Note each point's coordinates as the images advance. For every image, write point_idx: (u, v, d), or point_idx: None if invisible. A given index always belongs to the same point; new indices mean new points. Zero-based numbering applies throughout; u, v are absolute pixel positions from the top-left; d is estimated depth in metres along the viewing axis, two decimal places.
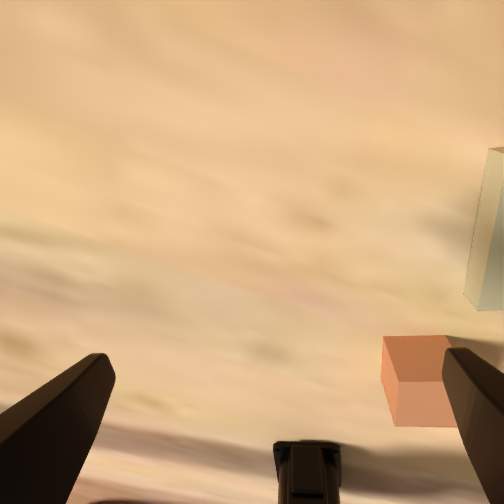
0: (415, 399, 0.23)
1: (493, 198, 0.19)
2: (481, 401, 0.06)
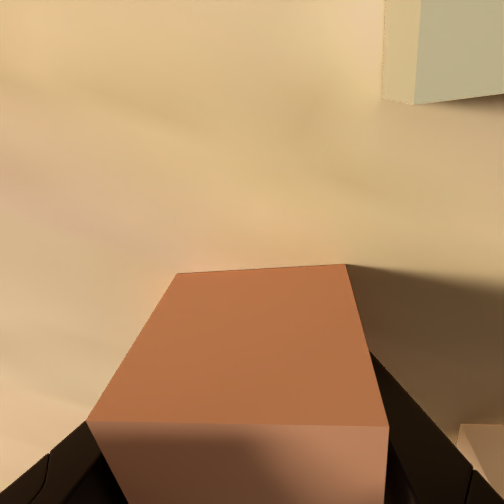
0: (183, 488, 0.06)
1: None
2: None
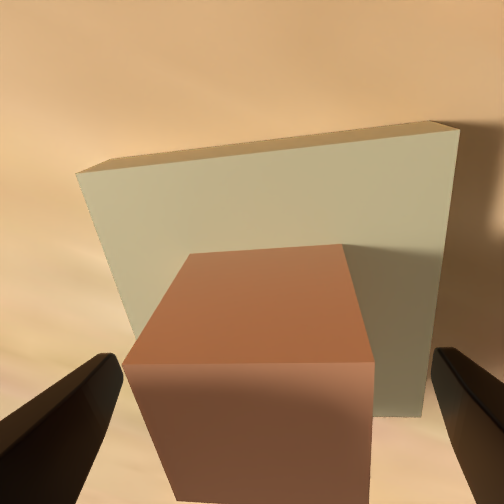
0: (202, 427, 0.07)
1: None
2: (467, 401, 0.06)
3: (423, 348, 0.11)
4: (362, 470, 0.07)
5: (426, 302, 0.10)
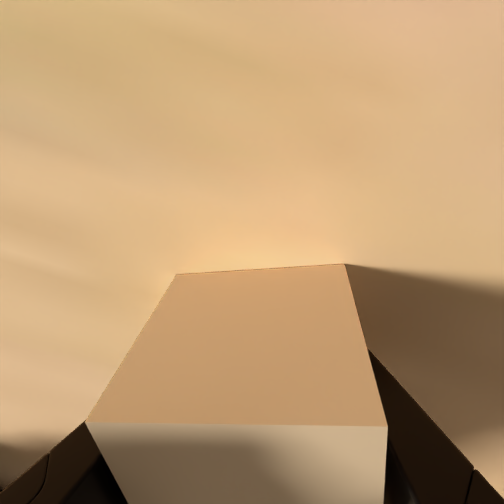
0: None
1: None
2: None
3: None
4: None
5: None
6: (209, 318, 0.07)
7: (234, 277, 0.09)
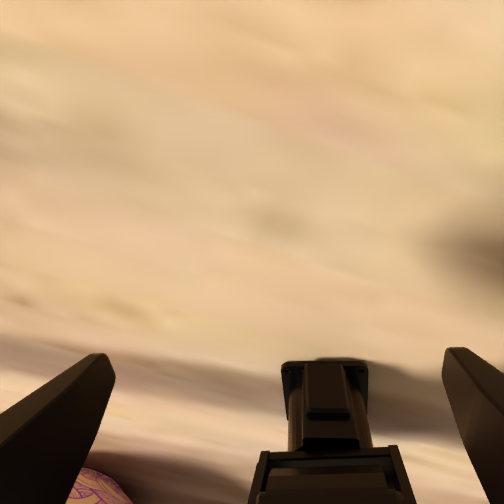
0: None
1: None
2: (481, 401, 0.06)
3: None
4: None
5: None
6: None
7: None
